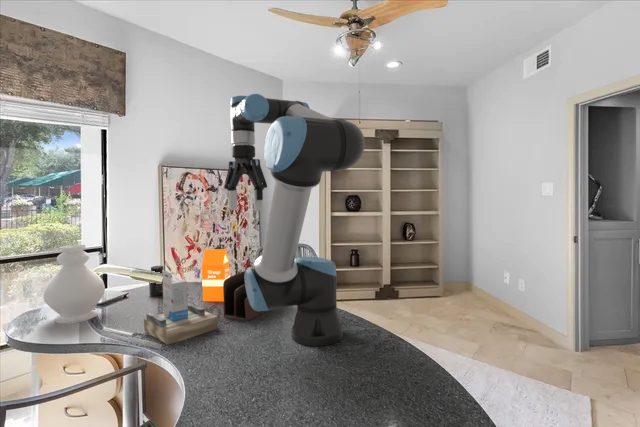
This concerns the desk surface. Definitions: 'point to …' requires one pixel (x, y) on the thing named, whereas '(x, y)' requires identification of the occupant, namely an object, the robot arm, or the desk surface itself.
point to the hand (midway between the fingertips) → (245, 210)
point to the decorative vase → (74, 287)
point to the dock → (180, 325)
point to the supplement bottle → (154, 288)
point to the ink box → (174, 297)
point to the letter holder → (237, 299)
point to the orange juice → (214, 273)
